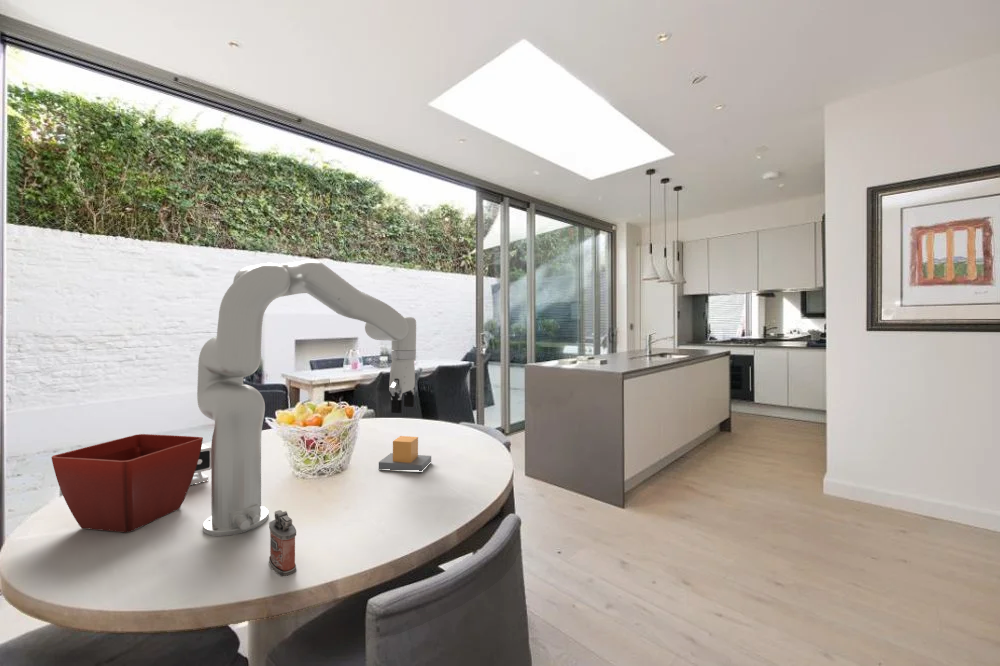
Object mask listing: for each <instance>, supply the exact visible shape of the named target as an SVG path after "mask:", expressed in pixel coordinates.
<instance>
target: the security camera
mask: <svg viewBox="0 0 1000 666" xmlns="http://www.w3.org/2000/svg"><path fill="white" fill-rule="evenodd" d="M210 470H211V446H208V445H206V444H204V443H202V447H201V452H200V456H199V459H198V463H197V466H196V470H195V473H194V476H193V479H192V481H191V484H190V485H192V484H195V483H199V482H203V481H207V480H208V481H209V475H206V474H205V473H203V472H206V471H210ZM192 486H193V485H192Z"/></svg>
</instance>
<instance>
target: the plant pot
mask: <svg viewBox="0 0 1000 666" xmlns="http://www.w3.org/2000/svg"><path fill="white" fill-rule="evenodd" d="M203 441H204V438H203V437H202V436H189V435H188V436H187V435H172V434H171V435H170V434H148V433H147V434H145V433H139V434H134V435H129V436H125V437H123V438H122V437H121V438H117V439H114V440H110V441H106V442H101V443H98V444H94V445H90V446H86V447H85V446H84V447H82V448H78V449H74V450H70V451H69V450H68V451H67V452H66V451H65V452H62V453H58V454H54V455H52V456H51V462H52V466H53V469H54V473H55V477H56V481H57V483H58V486H59V490H60V492H61V494H62V496H63V499H64V501H65V504H66V505H67V507H68V509H69V511H70V513H71V515H72V516H73V518H74V520H75V521H76V522H77V524H78V526H79V527H80V528H81V529H86V530H96V531H97V530H98V531H107V532H116V533H117V532H118V533H129V532H133V531H136V530H138V529H140V528H142V527H144V526H146V525H148V524H151V523H152V522H154V521H157V520H158V519H161V518H163V517H164V516H167V515H169V514H172V513H174V512H176V511H177V510H180V509H181V506H183V503H184V501H185V498H186V496H187V494H188V491H189V489H190V487H191V486H190V484H191V481H192V479H193V476H194V474H196V473H195V470H196V466H197V463H198V459H199V456H200V452H201V447H202V444H203Z"/></svg>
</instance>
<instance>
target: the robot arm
mask: <svg viewBox="0 0 1000 666" xmlns="http://www.w3.org/2000/svg"><path fill="white" fill-rule="evenodd" d="M299 294H300V295H301V294H307V295H309V296H311V297H313V298H314V299H316V300H317V301H318V302H320V303H321V304H322V305H325V306H326V307H327V308H329V309H330V310H332V311H333V312H335V313H336V314H338V315H340V316H343V317H345V318H348V319H352V320H357V321H360V322H364V323H365V325H364V331H365V333H366V335H367V336H368V337H369V338H370V339H373V340H376V341H391V356H390V357H391V359H390V361H391V364H390V369H389V370H390V372H389V384H388V385H389V387H388V389H389V392H390V400H391V404H390V405H391V406H390V407H391V410H390V411H391V413H392V414H402V413H403V406H404V407H405V408H414V406H415V388H416V387H415V384H416V370H415V368H416V367H415V361H416V360H417V355H416V353H417V321H416V318H414V317H412V316H403V315H402V314H401V313H400V312H399V311H397V310H396V309H394V307H392V306H390V305H389V304H388V303H386V302H384V301H382V300H380V299H378V298H376V297H374V296H371V295H369V294H368V293H365V292H363V291H361V290H359V289H357V288H356V287H355V286H353V285H352V284H350V283H349V282H348V281H346V280H345V279H344V278H343V277H341V276H340V275H339V274H338V273H336V272H335V271H333V270H332V269H331V268H329V266H328V265H325V264H324V263H323V262H321V261H319V260H316V259H305V260H301V261H294V262H287V263H281V264H280V263H279V264H278V263H273V262H267V263H264V262H263V263H260V264H255V265H249V266H246V267H243V268H241V269H240V270H238V271H237V272H236V274H235V275H234V277H233V282H232V283H231V284H230V286H229V288H227V290H226V291H225V293H224V295H223V296H222V300H221V302H220V306H219V312H218V320H217V329H216V330H217V331H216V336H214V337H211V338H209V339H208V340H207V341H206V342H205V343H204V344H203V345H202V347H201V349H200V353H199V357H198V364H197V367H198V369H197V393H196V398H197V405H198V408H199V410H200V412H201V413H202V414H203V415H204V416H205V417H206V418H208V419H211V421H214V426H213V431H212V432H213V433H212V436H211V446H210V448H211V469H210V470H211V471H210V473H211V474H210V475H211V477H210V479H211V489H210V491H211V494H210V495H211V502H210V503H211V516H209V517H208V518H207V519H205V520H204V521H203V524H202V531H203V533H205V534H207V535H210V536H216V537H218V536H219V537H221V536H222V537H224V536H233V535H236V534H241V533H245V532H247V531H251V530H253V529H256V528H258V527H259V526H261V525H262V524H264V523H265V522H266V521H267V520H268V519H269V516H270V513H269V509H268V508H267V507H265V506H262V430H263V422H264V419H265V412H266V404H265V399H264V397H263V394H262V393H261V392H260V391H259V390H258V389H257V388H255V387H254V386H251V385H249V384H247V383H244V378H247V377H249V376H252V375H253V374H254V373H255V372H256V371H257V370H258V369H259V367H260V365H261V358H262V335H263V333H262V331H263V330H262V329H263V321H264V317H265V316H264V315H265V312H266V310H267V308H268V306H269V305H271V303H272V302H273V301H275V300H276V299H278V298H281V297H286V296H287V297H289V296H293V295H299ZM402 396H404V397H403V400H402Z"/></svg>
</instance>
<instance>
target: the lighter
mask: <svg viewBox="0 0 1000 666" xmlns="http://www.w3.org/2000/svg"><path fill="white" fill-rule="evenodd" d="M268 527H269V533H270V534H269V535H270V536H269V537H270V538H269V540H270V544H269V545H270V547H269V549H270V551H269V553H270V554H269V555H270V556H268V563H269V567H270V568H271V570H272V571H273V572H274V573H275V574H277V575H278V576H280V577H282V578H285V577H287V578H288V577H290V576H292V575H294V574H295V573H296V572H297V565H296V536H297V529H296V527H295V526H294V524H293V519H292V518H290V516H289V515H288V511H287V510H285V511H283V510H280V509H279V510H275V511H274V519H273V520H271V521H270V522H269V524H268Z"/></svg>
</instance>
